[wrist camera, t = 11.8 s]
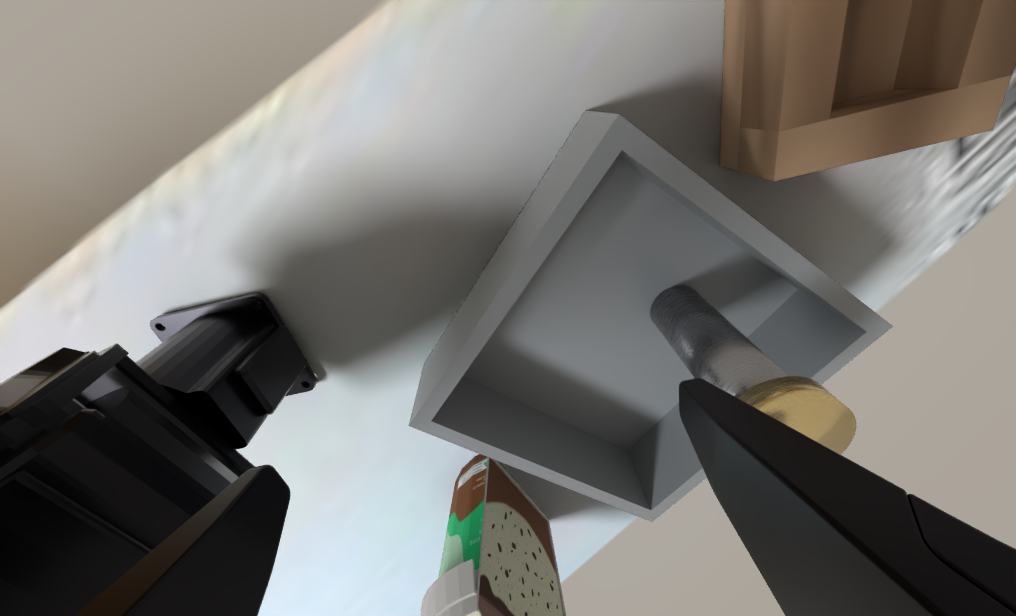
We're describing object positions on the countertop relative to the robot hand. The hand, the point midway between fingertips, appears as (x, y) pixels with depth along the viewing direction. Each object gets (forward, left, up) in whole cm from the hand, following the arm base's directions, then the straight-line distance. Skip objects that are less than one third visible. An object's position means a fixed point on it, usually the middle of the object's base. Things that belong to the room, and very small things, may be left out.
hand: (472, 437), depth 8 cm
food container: (-5, -20, -13) cm, 24 cm away
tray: (+6, -7, -13) cm, 16 cm away
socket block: (+16, +5, -13) cm, 21 cm away
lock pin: (+9, -6, -12) cm, 17 cm away
